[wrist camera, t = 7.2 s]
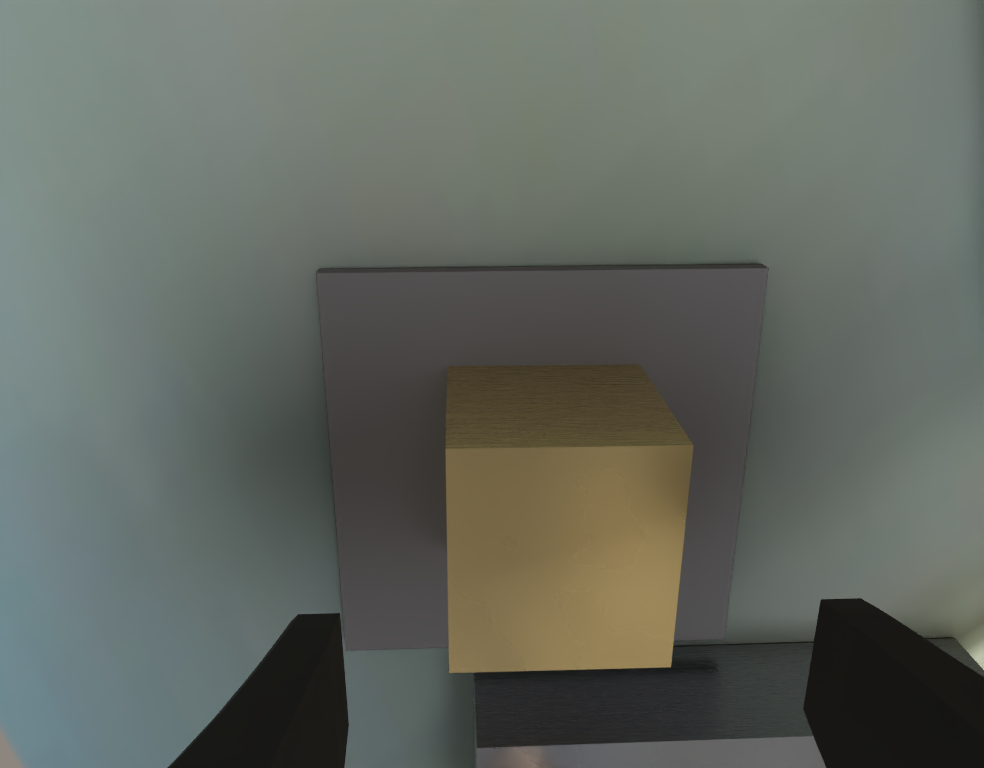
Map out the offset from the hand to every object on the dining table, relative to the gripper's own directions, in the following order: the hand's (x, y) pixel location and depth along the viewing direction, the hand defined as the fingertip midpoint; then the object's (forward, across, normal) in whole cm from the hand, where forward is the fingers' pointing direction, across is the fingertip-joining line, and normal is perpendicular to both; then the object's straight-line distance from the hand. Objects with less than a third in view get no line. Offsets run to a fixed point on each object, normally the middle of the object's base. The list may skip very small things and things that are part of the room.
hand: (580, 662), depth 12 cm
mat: (+6, 0, 0) cm, 6 cm away
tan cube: (+6, 0, 0) cm, 6 cm away
